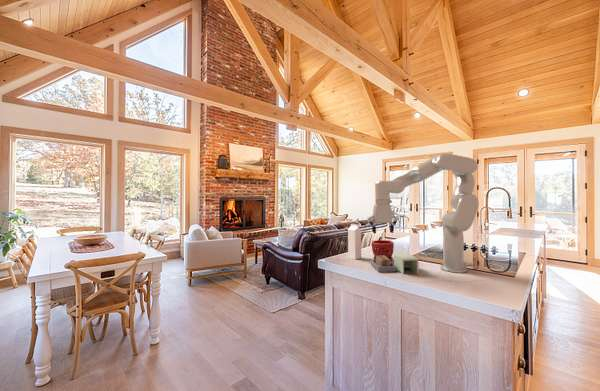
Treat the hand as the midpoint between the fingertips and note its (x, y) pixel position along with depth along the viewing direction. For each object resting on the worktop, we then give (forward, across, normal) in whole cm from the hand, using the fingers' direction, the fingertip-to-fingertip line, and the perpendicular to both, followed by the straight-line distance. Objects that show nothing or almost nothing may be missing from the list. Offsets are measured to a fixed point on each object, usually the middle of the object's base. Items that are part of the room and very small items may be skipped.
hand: (383, 232), depth 146 cm
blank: (+19, 0, 0) cm, 19 cm away
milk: (+20, +11, -23) cm, 33 cm away
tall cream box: (+20, -10, +5) cm, 23 cm away
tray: (+20, 0, 0) cm, 20 cm away
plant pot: (+20, -5, -16) cm, 26 cm away
